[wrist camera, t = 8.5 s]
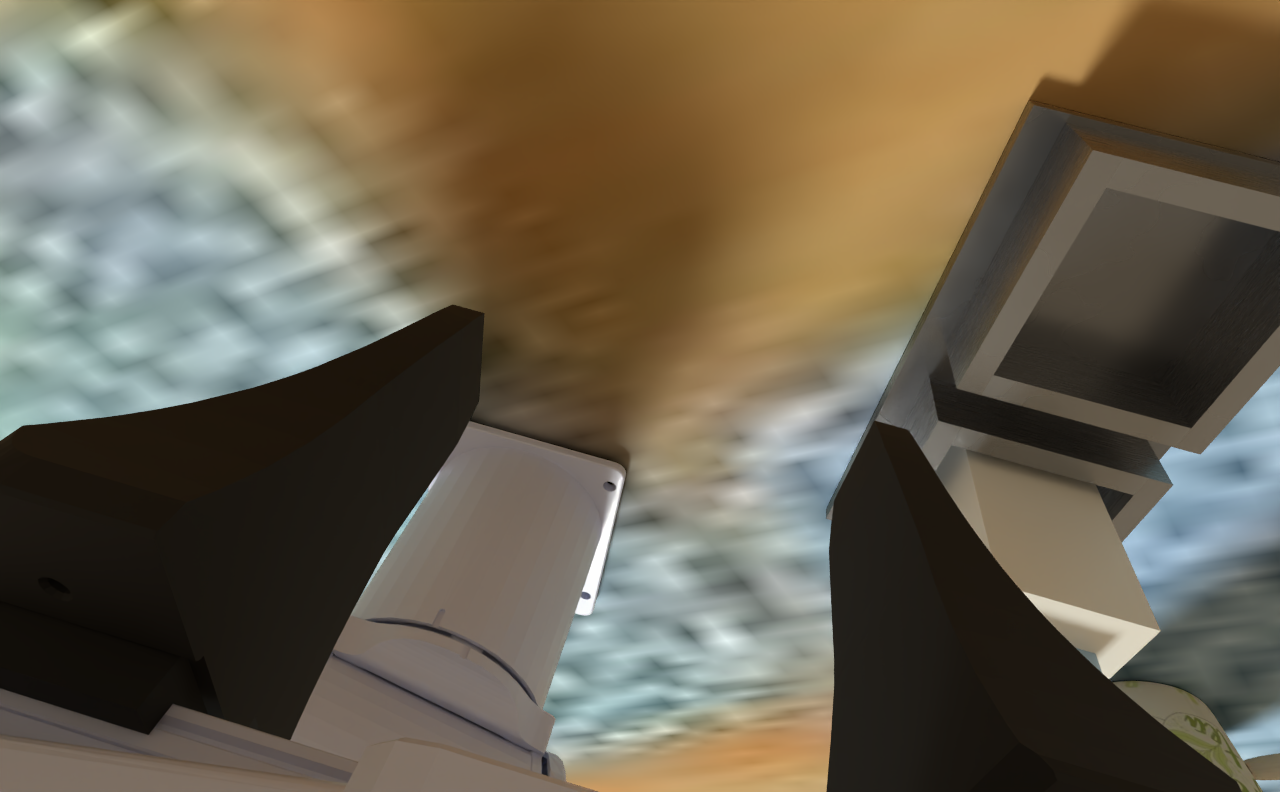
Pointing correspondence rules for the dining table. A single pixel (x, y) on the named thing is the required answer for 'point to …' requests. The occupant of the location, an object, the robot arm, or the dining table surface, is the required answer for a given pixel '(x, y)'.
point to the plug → (1055, 552)
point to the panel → (1098, 308)
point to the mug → (1201, 731)
